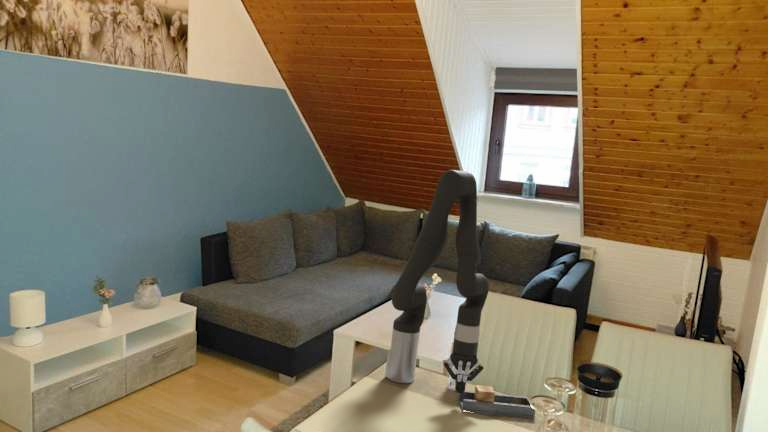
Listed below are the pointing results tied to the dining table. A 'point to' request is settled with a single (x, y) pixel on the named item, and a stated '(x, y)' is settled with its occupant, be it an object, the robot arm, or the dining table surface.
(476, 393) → the oak block
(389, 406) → the dining table surface
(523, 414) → the chute
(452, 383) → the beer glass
